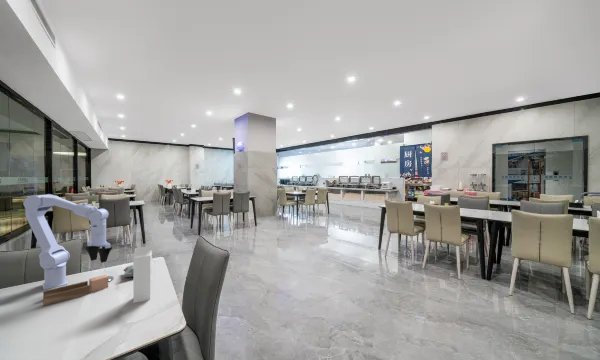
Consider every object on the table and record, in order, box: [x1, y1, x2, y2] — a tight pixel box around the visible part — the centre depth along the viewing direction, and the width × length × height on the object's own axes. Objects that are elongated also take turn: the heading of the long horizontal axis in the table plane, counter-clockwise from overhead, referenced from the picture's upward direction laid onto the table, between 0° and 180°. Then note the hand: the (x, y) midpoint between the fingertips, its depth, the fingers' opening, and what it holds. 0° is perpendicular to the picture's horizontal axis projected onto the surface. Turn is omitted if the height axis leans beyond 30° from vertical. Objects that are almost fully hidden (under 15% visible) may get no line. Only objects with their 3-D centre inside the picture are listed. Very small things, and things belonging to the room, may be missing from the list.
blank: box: [88, 274, 109, 293], centre depth 111 cm, size 4×6×5 cm, turn 142°
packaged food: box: [122, 264, 133, 278], centre depth 126 cm, size 9×12×5 cm
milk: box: [132, 246, 153, 304], centre depth 102 cm, size 6×6×22 cm
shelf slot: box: [42, 280, 91, 307], centre depth 103 cm, size 8×14×4 cm, turn 137°
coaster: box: [107, 275, 115, 283], centre depth 119 cm, size 9×9×1 cm
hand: (98, 261), depth 118 cm, fingers open, 7 cm apart
